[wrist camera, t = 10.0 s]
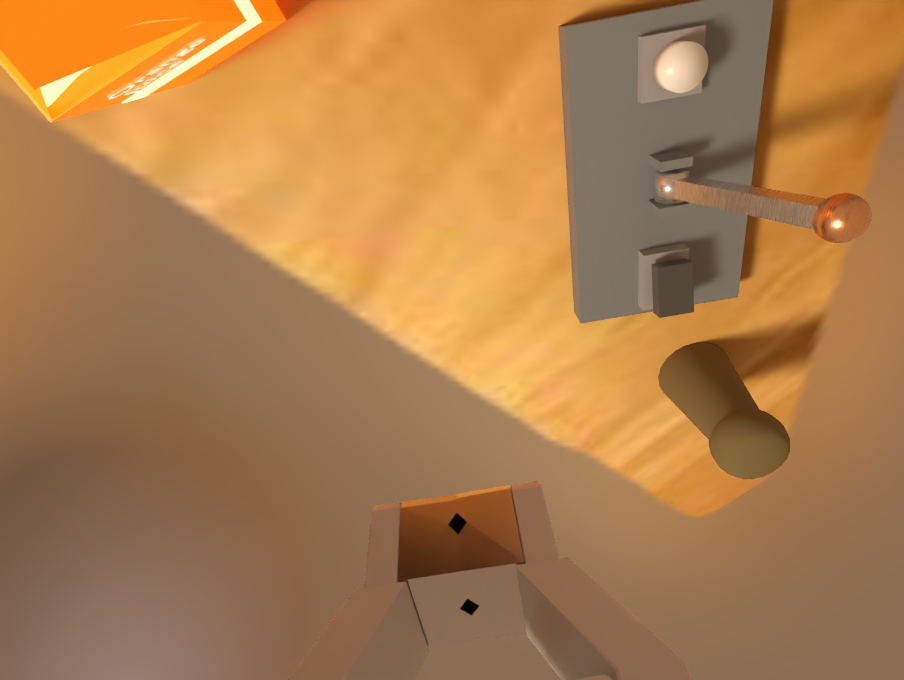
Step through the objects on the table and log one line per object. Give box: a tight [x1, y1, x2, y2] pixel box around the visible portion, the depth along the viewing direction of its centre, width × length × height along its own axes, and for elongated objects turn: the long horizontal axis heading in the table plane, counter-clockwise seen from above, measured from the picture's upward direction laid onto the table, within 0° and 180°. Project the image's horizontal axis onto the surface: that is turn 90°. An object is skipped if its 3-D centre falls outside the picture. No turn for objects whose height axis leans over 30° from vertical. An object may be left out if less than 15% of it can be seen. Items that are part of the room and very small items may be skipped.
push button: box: [653, 41, 708, 93], centre depth 31 cm, size 3×3×1 cm
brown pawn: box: [658, 343, 790, 479], centre depth 42 cm, size 6×6×11 cm
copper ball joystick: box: [654, 168, 872, 243], centre depth 31 cm, size 2×2×13 cm
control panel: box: [559, 0, 774, 323], centre depth 36 cm, size 20×12×4 cm, turn 9°
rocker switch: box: [651, 258, 694, 318], centre depth 38 cm, size 4×2×1 cm, turn 10°
